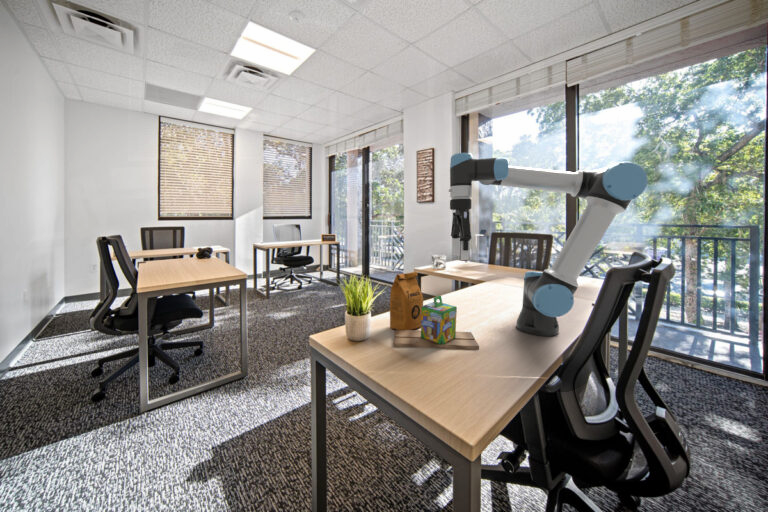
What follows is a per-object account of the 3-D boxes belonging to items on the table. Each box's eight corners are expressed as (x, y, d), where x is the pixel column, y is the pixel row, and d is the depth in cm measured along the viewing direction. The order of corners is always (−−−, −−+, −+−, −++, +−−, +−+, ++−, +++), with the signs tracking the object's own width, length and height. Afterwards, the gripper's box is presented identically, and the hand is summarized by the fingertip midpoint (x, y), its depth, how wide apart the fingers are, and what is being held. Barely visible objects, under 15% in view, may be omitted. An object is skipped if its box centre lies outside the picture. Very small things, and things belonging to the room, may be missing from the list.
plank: (470, 335, 117) (471, 332, 117) (474, 342, 111) (474, 338, 111) (394, 332, 118) (395, 329, 118) (394, 339, 112) (394, 336, 112)
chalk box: (442, 346, 104) (444, 302, 102) (419, 338, 111) (420, 296, 108) (456, 337, 111) (458, 296, 109) (434, 330, 117) (436, 292, 115)
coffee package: (427, 328, 124) (427, 272, 122) (403, 335, 117) (404, 276, 114) (409, 322, 132) (410, 269, 130) (386, 328, 124) (386, 272, 122)
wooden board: (470, 336, 117) (471, 332, 117) (479, 350, 105) (479, 346, 105) (394, 334, 118) (395, 330, 118) (394, 347, 106) (394, 343, 106)
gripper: (443, 200, 126) (443, 253, 128) (458, 196, 101) (457, 262, 104) (462, 200, 126) (461, 253, 128) (481, 196, 101) (480, 262, 104)
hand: (460, 257), depth 116 cm, fingers open, 13 cm apart
